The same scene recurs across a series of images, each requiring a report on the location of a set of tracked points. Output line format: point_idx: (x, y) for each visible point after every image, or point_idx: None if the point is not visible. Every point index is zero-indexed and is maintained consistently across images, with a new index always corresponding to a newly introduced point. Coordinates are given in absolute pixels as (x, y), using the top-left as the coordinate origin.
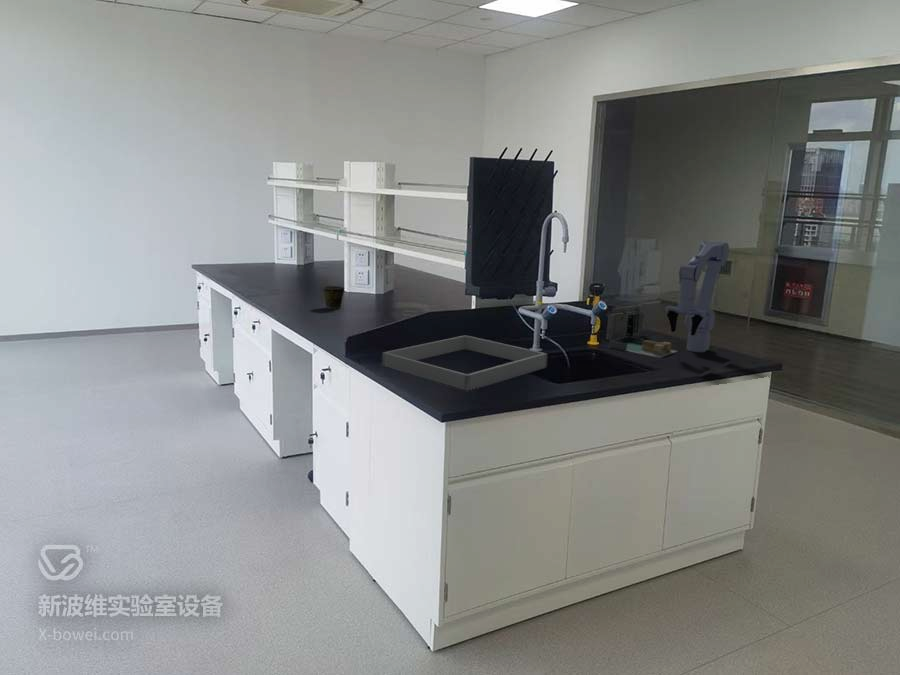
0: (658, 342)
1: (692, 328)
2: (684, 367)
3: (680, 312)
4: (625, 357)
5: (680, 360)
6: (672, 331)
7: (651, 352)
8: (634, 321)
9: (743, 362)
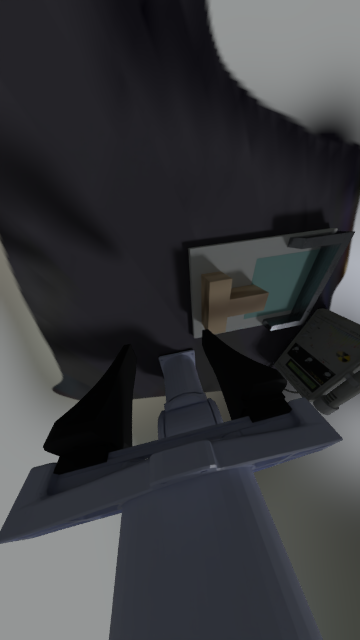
0: (232, 314)
1: (118, 365)
2: (96, 232)
3: (214, 432)
4: (275, 175)
5: (157, 295)
6: (204, 330)
7: None
8: (307, 374)
9: (92, 377)
